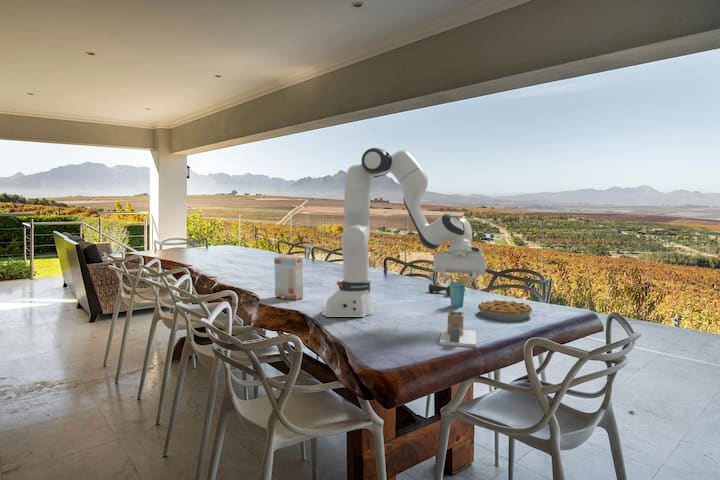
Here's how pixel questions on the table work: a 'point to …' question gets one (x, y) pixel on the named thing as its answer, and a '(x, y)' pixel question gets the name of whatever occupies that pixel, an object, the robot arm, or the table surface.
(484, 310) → the pie
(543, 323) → the table surface
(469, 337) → the base plate
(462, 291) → the cup
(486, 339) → the table surface
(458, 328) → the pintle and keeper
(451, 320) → the wooden pencil holder
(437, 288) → the kendama
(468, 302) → the table surface
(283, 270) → the cracker box
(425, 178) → the robot arm
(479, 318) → the table surface
